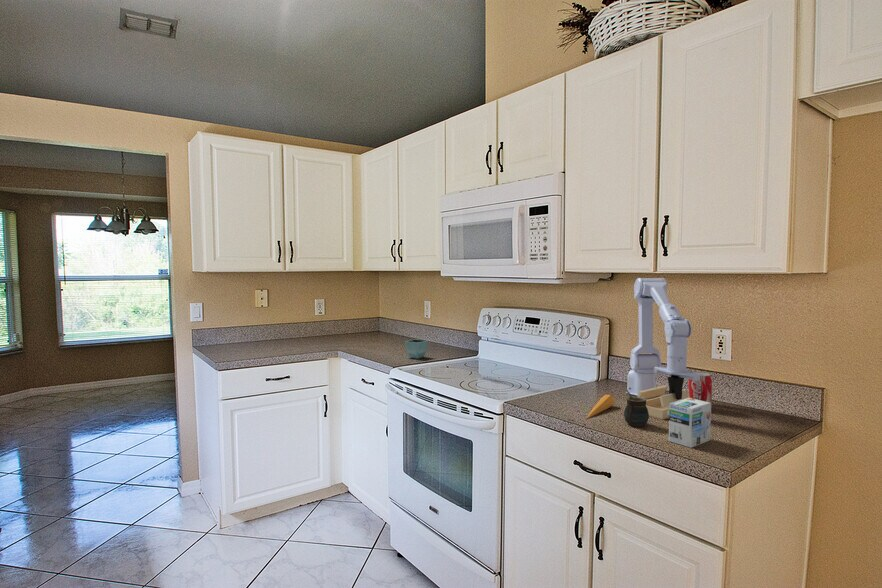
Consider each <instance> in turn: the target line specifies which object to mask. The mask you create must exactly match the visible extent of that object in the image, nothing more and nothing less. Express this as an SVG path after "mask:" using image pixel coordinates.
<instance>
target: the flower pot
mask: <svg viewBox="0 0 882 588" xmlns="http://www.w3.org/2000/svg"><path fill="white" fill-rule="evenodd" d="M404 343H405V349H406V352H407V355H408V356H409V358H411V359H417V360H418V359H421V358H424V357H425V356H426V353H427V350H428V344H429V340H425V339H411V340H405V342H404Z"/></svg>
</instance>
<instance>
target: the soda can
mask: <svg viewBox="0 0 882 588" xmlns="http://www.w3.org/2000/svg"><path fill="white" fill-rule="evenodd" d="M692 372H693V373H697V374H700V380H698V381H694V380H692V379H688V389H687V391H688V396H689V398H692V399H696V400H701V401H705V402H709V403H711V404H712V396H713V379H712V377H711V374H710V373H708V372H703V371H692Z"/></svg>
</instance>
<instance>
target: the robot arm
mask: <svg viewBox="0 0 882 588" xmlns="http://www.w3.org/2000/svg"><path fill="white" fill-rule="evenodd" d="M667 290H668V283H667V281H666V278H664V277H660V278H659V277H657V278H656V277H655V278H652V277H651V278H650V277H649V278H648V277H647V278H645V277H643V278H641V277H638V278H636V279H635V282H634V285H633V292H634V293H633V296H634V300H635V301H636V302H638V303H637V304H638V345H636V346H635V347H634V348H632V349H631V351H630V356H629V365H630V368H631V370H629V372H628V374H627V380H626V381H627V383H626V384H627V385H626V386H627V387H626V390H628V392H629V393H630V395H631V396H635V397H637V396H638V394H639V391H643V390H647V389H651V388H656V379H657V378H656V374H661V375H667V381H668V394H672V393H675V396H676V400H680V399H682V391H683V385H684V381H685V379H687V380H689V379H692V380H694V381H698V380H700V374H697V373H693V372H694V371H689V370H687V362H688V361H687V359H688V338H689V337H690V336H691V334H692V326H691V325H692V324H691V323H690V320H689V319H686V318H685V317H683V316H682V315H681V313H680V311H679V310H678V309H679V308H677V306H676V305H675V304H673V303H671V302H670V298H669V297H668V294H667V292H668V291H667ZM654 303H656V304H657V306H658V308H659V309H658V315H659V316H660V318H661V320H662V322H663V324H664V329H663V330H664V335H665V342H666V343H667V345H666V348H667V353H666V366H665V367H664V366H662V358H661V352H660V350H659V349H658V348H656V347H655V346H654V323H653V322H654V319H653V318H654V311H653V310H654V309H653V308H654V307H653V306H654V305H653V304H654ZM628 392H627V391H625V394H628Z"/></svg>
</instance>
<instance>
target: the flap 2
mask: <svg viewBox="0 0 882 588" xmlns="http://www.w3.org/2000/svg"><path fill="white" fill-rule="evenodd" d="M658 397H660V401H661V406H662V407H664V406H668V405H670V403H673V402H677V401H680V400H683V399H686V398H689V396H688V389H684V390H683V389H682V399H680V400H676V396H675V393H672V394H669V393H668V394H667V393H666V394H664V395H660V396H658Z"/></svg>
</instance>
